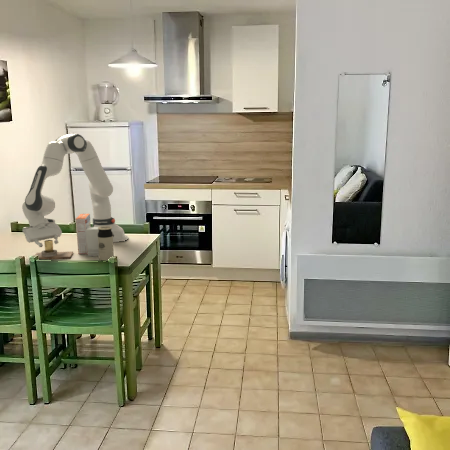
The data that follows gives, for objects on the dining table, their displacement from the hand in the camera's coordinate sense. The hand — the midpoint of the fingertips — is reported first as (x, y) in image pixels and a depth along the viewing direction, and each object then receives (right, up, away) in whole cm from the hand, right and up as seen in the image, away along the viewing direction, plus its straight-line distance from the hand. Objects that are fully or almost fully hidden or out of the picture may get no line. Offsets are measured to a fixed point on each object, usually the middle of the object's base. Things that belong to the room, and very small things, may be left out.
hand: (49, 244), depth 287 cm
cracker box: (+16, -4, +14) cm, 22 cm away
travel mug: (+33, -8, -3) cm, 34 cm away
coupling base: (+2, -7, +2) cm, 7 cm away
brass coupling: (0, -6, +1) cm, 6 cm away
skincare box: (+24, -6, +6) cm, 26 cm away
